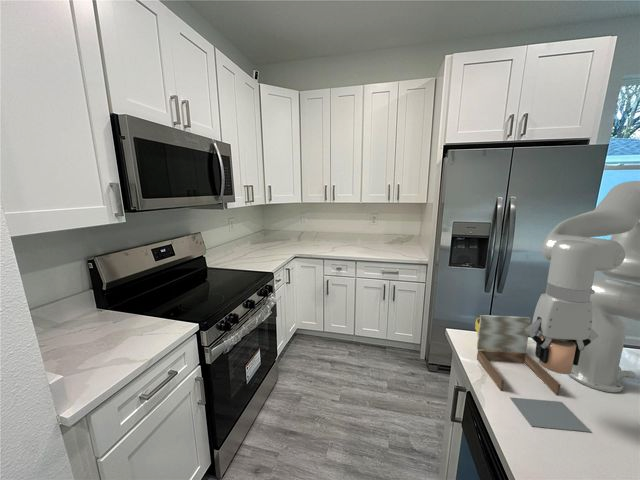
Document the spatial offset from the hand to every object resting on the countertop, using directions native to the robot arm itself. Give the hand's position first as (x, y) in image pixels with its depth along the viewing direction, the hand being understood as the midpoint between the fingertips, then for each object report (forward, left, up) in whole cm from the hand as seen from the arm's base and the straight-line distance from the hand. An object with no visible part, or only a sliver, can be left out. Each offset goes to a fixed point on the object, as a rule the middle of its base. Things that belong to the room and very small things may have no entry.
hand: (555, 360), depth 63 cm
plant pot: (0, -29, -16) cm, 33 cm away
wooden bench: (0, -15, -15) cm, 21 cm away
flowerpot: (0, 0, -2) cm, 2 cm away
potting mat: (0, 0, -15) cm, 15 cm away
